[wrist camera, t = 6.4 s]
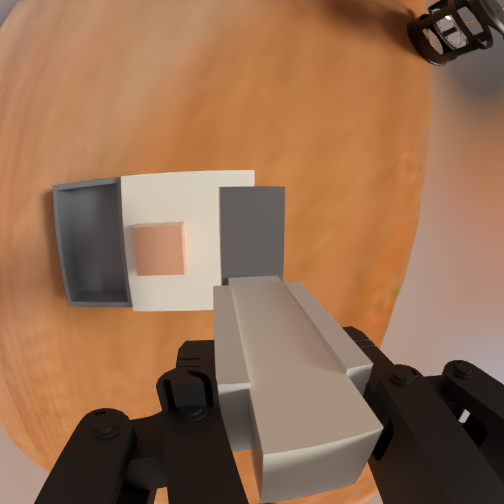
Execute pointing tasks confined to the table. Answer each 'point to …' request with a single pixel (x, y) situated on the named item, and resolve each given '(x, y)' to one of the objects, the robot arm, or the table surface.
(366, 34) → the table surface
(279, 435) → the scraper
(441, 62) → the french press
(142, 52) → the table surface
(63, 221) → the box
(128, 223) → the plate
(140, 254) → the tile
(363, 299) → the table surface
